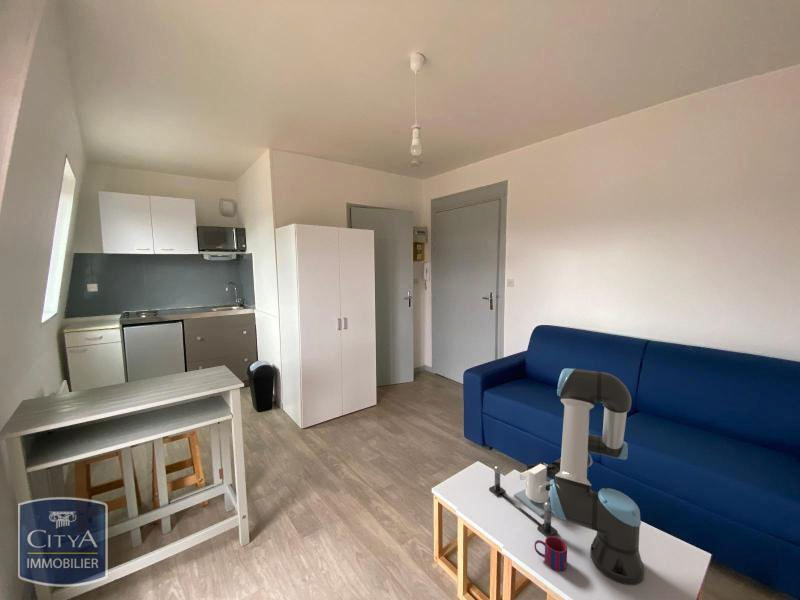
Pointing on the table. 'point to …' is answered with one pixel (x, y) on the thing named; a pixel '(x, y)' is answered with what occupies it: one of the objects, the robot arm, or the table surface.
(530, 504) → the slate mat
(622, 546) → the robot arm
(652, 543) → the table surface
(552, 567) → the mug
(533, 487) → the base with upright slab
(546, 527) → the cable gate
